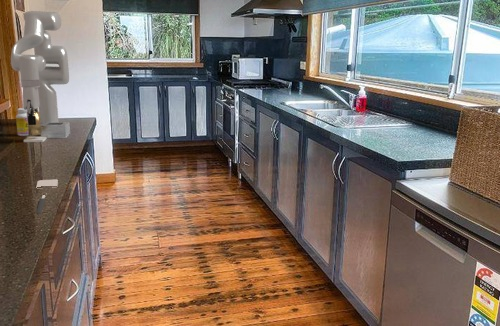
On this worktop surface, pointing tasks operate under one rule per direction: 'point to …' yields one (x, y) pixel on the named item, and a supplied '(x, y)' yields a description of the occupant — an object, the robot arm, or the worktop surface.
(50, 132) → the housing
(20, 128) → the supplement bottle
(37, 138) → the tile
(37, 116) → the tan capped cylinder
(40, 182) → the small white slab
